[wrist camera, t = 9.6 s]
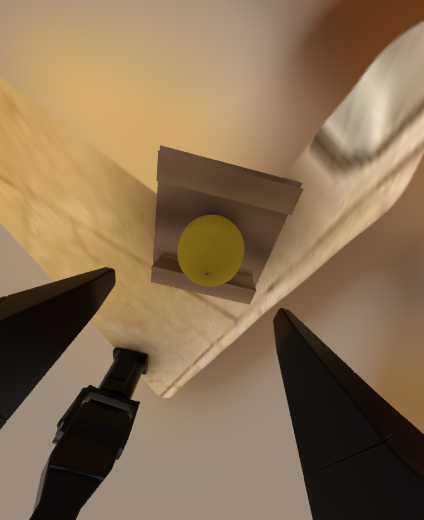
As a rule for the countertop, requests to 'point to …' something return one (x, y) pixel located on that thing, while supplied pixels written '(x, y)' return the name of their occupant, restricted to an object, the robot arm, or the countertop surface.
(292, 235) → the countertop surface
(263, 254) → the cradle
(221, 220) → the lemon
